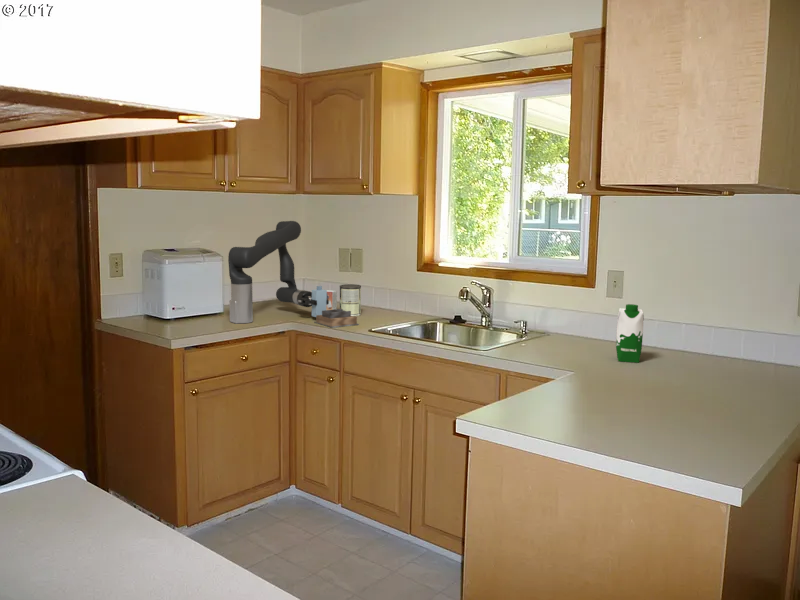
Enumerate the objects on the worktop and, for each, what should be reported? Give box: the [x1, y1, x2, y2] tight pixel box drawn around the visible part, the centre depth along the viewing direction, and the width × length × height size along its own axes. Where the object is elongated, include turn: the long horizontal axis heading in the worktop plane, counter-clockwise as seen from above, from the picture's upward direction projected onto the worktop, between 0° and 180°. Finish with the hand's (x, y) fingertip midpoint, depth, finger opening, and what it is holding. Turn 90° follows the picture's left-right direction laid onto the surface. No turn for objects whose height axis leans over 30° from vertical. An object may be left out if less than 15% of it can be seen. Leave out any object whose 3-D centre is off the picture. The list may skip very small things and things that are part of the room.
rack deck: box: [313, 308, 360, 329], centre depth 307 cm, size 14×15×6 cm
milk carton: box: [615, 303, 645, 364], centre depth 244 cm, size 9×9×20 cm
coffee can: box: [339, 283, 362, 317], centre depth 332 cm, size 10×10×14 cm
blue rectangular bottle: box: [311, 285, 328, 318], centre depth 316 cm, size 5×4×14 cm
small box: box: [326, 289, 338, 310], centre depth 339 cm, size 8×6×10 cm
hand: (322, 302), depth 314 cm, fingers closed on blue rectangular bottle, 5 cm apart
